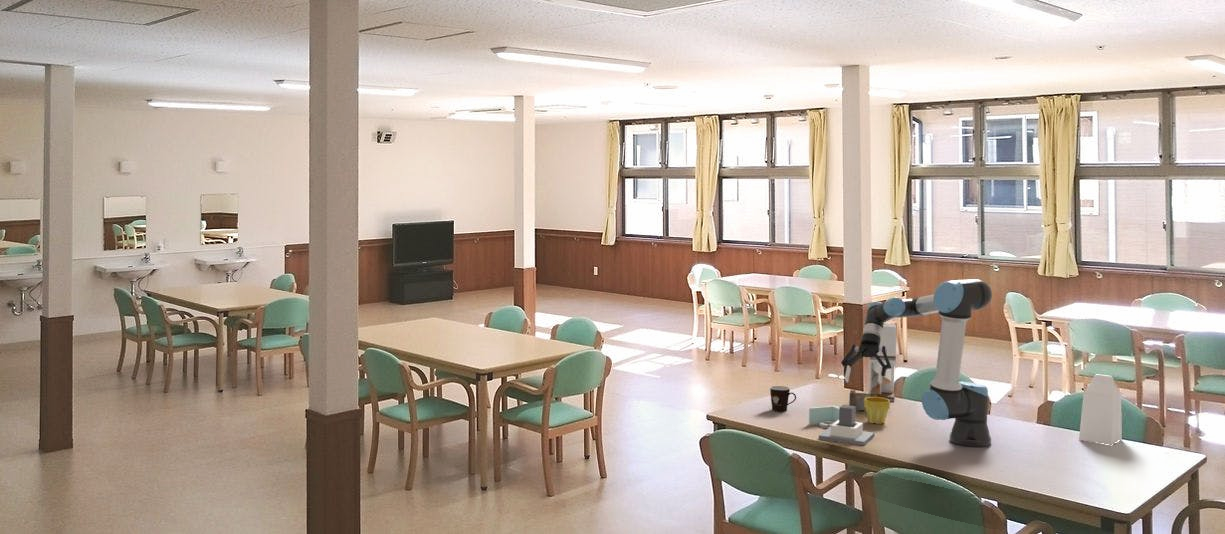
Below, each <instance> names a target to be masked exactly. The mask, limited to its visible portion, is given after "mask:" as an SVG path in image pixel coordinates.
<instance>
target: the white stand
mask: <svg viewBox="0 0 1225 534" xmlns="http://www.w3.org/2000/svg"><path fill="white" fill-rule="evenodd" d="M880 339H881V341H880V346H879V347H883V346H885V348H886V350H887V352H886V354H887V357H888V359H889V362H890V365H891V367H892V368H891V369H887V370H886V374H885V376H883V377H882V382H881V384H879V383H878V376H879V371H880V367H882V366H881V365H880V363H879V362H878V361H877V359H876V358H875V357H872V358H870V357H868V384H867V385H868V389H867V391H868V392H867V394H876V397H881V398H886V399H889V400H890V401H894V402H895V394H894V393H895V392H894V388H895V387H894V386H895V365H896V361H897V360H896V358H897V325H896V322H884V325H883V330H882V335H881V338H880ZM877 355H878V356H879V357H880V359H881V360H882V361H883V363H884V364H885V365H887V364H886V361H885V358H884V355H883V353H882V352H881V351H879V352H878V353H877Z"/></svg>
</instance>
